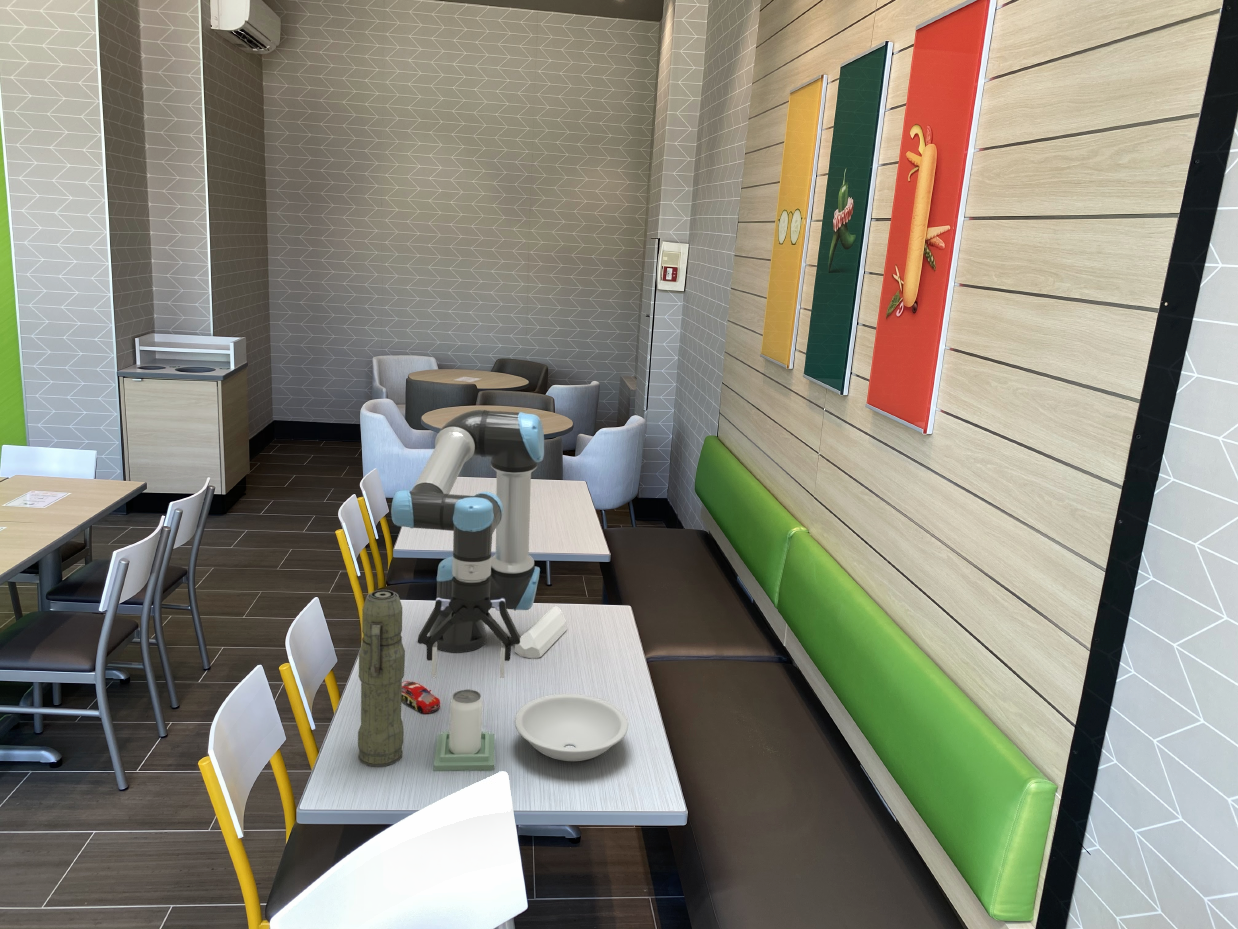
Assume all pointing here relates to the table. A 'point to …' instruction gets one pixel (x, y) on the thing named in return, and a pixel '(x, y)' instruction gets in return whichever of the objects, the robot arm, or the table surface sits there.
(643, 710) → the table surface
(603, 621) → the table surface
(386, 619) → the thermos
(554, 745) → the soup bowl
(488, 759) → the baseplate
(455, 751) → the can
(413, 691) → the race car
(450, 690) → the table surface
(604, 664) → the table surface
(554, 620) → the crystal
